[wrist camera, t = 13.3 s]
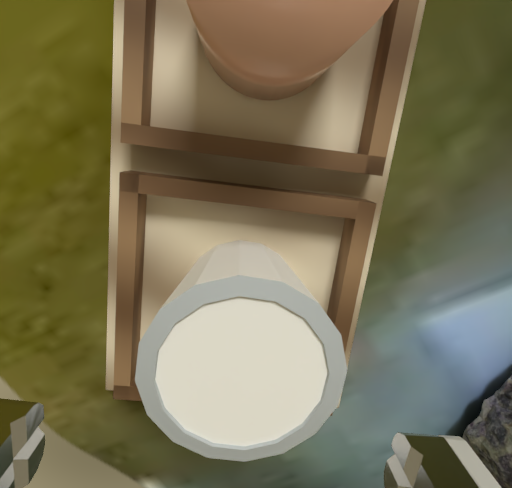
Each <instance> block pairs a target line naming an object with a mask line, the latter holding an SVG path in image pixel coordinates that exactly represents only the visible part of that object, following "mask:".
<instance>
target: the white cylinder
mask: <svg viewBox="0 0 512 488" xmlns="http://www.w3.org/2000/svg"><path fill="white" fill-rule="evenodd" d="M346 374H347V365H346V359H345V353H344V348H343V342H342V336H341V334H340V332H339V331H338V329H337V328H336V327H335V325H334V324H333V322H332V321H331V320H330V318H329V317H328V315H327V314H326V313H325V311H324V310H323V308H322V307H321V306H320V304H319V303H318V301H317V300H316V299H315V298H314V297H313V295H312V294H311V293H310V292H309V290H308V289H307V288H306V287H305V285H304V284H303V283H302V282H301V280H300V279H299V278H298V277H297V275H296V274H295V273H294V272H293V270H292V269H291V268H290V267H289V265H288V264H287V263H286V262H285V261H284V259H283V258H282V257H281V256H280V255H279V254H278V253H276V252H275V251H273V250H271V249H270V248H268V247H266V246H265V245H263V244H261V243H255V242H249V241H243V240H237V241H233V242H228V243H224V244H219V245H217V246H215V247H214V248H212V249H211V250H210V251H208V252H207V253H205V254H204V255H202V256H201V257H200V258H199V259H198V260H197V262H196V263H195V264H194V266H193V267H192V268H191V269H190V271H189V272H188V273H187V275H186V276H185V277H184V279H183V280H182V281H181V282H180V284H179V285H178V286H177V288H176V289H175V290H174V291H173V293H172V294H171V295H170V297H169V298H168V299H167V301H166V302H165V303H164V304H163V306H162V307H161V308H160V310H159V311H158V313H157V315H156V316H155V318H154V319H153V321H152V323H151V324H150V326H149V328H148V329H147V331H146V332H145V334H144V336H143V337H142V339H141V340H140V342H139V346H138V355H137V364H136V374H135V383H136V385H137V388H138V391H139V394H140V396H141V399H142V402H143V405H144V408H145V410H146V413H147V415H148V416H149V417H150V418H151V419H152V420H153V422H154V423H155V424H156V425H157V426H158V427H159V428H160V429H161V430H162V431H163V432H164V433H165V434H166V435H167V436H168V437H169V438H170V439H171V440H172V441H173V442H175V443H177V444H179V445H181V446H183V447H185V448H187V449H190V450H192V451H194V452H196V453H198V454H200V455H202V456H204V457H207V458H215V459H224V460H234V461H243V462H246V461H251V460H256V459H260V458H265V457H269V456H274V455H278V454H283V453H285V452H286V451H288V450H290V449H291V448H293V447H295V446H296V445H298V444H300V443H301V442H303V441H305V440H306V439H308V438H310V437H311V436H313V435H314V434H316V433H317V431H318V430H319V429H320V427H321V426H322V425H323V424H324V422H325V421H326V420H327V419H328V417H329V416H330V415H331V414H332V412H333V411H334V410H335V408H336V407H337V406H338V404H339V400H340V396H341V393H342V389H343V385H344V382H345V378H346Z"/></svg>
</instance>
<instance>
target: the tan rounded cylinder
mask: <svg viewBox="0 0 512 488" xmlns="http://www.w3.org/2000/svg"><path fill="white" fill-rule="evenodd" d="M186 1H187V4H188V7H189V10H190V13H191V15H192V18H193V21H194V24H195V26H196V29H197V32H198V35H199V38H200V40H201V43H202V46H203V49H204V52H205V54H206V56H207V59H208V61H209V63H210V64H211V66H212V68H213V69H214V71H215V72H216V73H217V74H218V76H219V77H220V78H221V79H222V80H223V81H224V82H225V83H226V84H227V85H228V86H230V87H231V88H233V89H234V90H235V91H237V92H239V93H241V94H243V95H245V96H248V97H251V98H254V99H259V100H269V101H270V100H280V99H285V98H288V97H291V96H294V95H296V94H298V93H300V92H302V91H304V90H305V89H306V88H308V87H309V86H311V85H312V84H313V83H314V82H315V81H316V80H317V79H318V78H319V77H320V76H321V75H322V74H323V73H324V72H325V71H326V70H327V69H328V68H329V67H331V66H332V65H333V64H334V63H335V62H336V61H337V60H338V59H339V58H340V57H341V56H342V55H343V54H344V53H345V52H346V51H347V50H348V49H349V48H350V47H351V46H352V45H353V44H354V43H355V42H357V41H358V40H359V39H360V38H361V37H362V36H363V35H364V34H365V33H366V32H367V31H368V30H369V29H370V28H371V27H372V26H373V25H374V24H375V23H376V22H377V21H378V20H379V19H380V17H381V16H382V15H383V14H384V13H385V11H386V10H387V9H388V8H389V6H390V4H391V3H392V1H393V0H186Z"/></svg>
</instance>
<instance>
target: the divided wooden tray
mask: <svg viewBox="0 0 512 488" xmlns="http://www.w3.org/2000/svg"><path fill="white" fill-rule="evenodd" d="M425 3H426V0H393V1H392V3H391V4H390V6H389V8H388V9H387V10H386V11H385V13H384V14H383V15H382V16H381V17H380V19H379V20H378V21H377V22H376V23H375V24H374V25H373V26H372V27H371V28H370V29H369V30H368V31H367V32H366V33H365V34H364V35H363V36H362V37H361V38H360V39H359V40H358V41H357V42H355V43H354V44H353V45H352V46H351V47H350V48H349V49H348V50H347V51H346V52H345V53H344V54H343V55H342V56H341V57H340V58H339V59H338V60H337V61H336V62H335V63H334V64H333V65H332V66H331V67H329V68H328V69H327V70H326V71H325V72H324V73H323V74H322V75H321V76H320V77H319V78H318V79H317V80H316V81H315V82H314V83H313V84H312V85H311V86H309V87H308V88H306V89H305V90H304V91H302V92H300V93H298V94H296V95H294V96H291V97H288V98H285V99H280V100H270V101H269V100H259V99H254V98H251V97H248V96H245V95H243V94H241V93H239V92H237V91H235V90H234V89H233V88H231V87H230V86H228V85H227V84H226V83H225V82H224V81H223V80H222V79H221V78H220V77H219V76H218V74H217V73H216V72H215V71H214V69H213V68H212V66H211V64H210V63H209V61H208V59H207V56H206V54H205V52H204V49H203V46H202V43H201V40H200V38H199V35H198V32H197V29H196V26H195V24H194V21H193V18H192V15H191V13H190V10H189V7H188V4H187V1H186V0H114V33H113V79H112V125H111V171H110V217H109V262H108V308H107V354H106V390H113V399H121V400H134V401H142V399H141V396H140V394H139V391H138V388H137V385H136V383H135V374H136V364H137V355H138V346H139V342H140V340H141V339H142V337H143V336H144V334H145V332H146V331H147V329H148V328H149V326H150V324H151V323H152V321H153V319H154V318H155V316H156V315H157V313H158V311H159V310H160V308H161V307H162V306H163V304H164V303H165V302H166V301H167V299H168V298H169V297H170V295H171V294H172V293H173V291H174V290H175V289H176V288H177V286H178V285H179V284H180V282H181V281H182V280H183V279H184V277H185V276H186V275H187V273H188V272H189V271H190V269H191V268H192V267H193V266H194V264H195V263H196V262H197V260H198V259H199V258H200V257H201V256H202V255H204V254H205V253H207V252H208V251H210V250H211V249H212V248H214V247H215V246H217V245H219V244H224V243H228V242H233V241H237V240H243V241H249V242H255V243H261V244H263V245H265V246H266V247H268V248H270V249H271V250H273V251H275V252H276V253H278V254H279V255H280V256H281V257H282V258H283V259H284V261H285V262H286V263H287V264H288V265H289V267H290V268H291V269H292V270H293V272H294V273H295V274H296V275H297V277H298V278H299V279H300V280H301V282H302V283H303V284H304V285H305V287H306V288H307V289H308V290H309V292H310V293H311V294H312V295H313V297H314V298H315V299H316V300H317V301H318V303H319V304H320V306H321V307H322V308H323V310H324V311H325V313H326V314H327V315H328V317H329V318H330V320H331V321H332V322H333V324H334V325H335V327H336V328H337V329H338V331H339V332H340V334H341V336H342V342H343V348H344V353H345V359H346V365H347V367H348V362H349V357H350V353H351V348H352V343H353V339H354V334H355V329H356V325H357V320H358V315H359V311H360V306H361V301H362V297H363V292H364V287H365V283H366V278H367V273H368V269H369V264H370V259H371V255H372V250H373V245H374V241H375V236H376V232H377V227H378V222H379V218H380V213H381V208H382V204H383V199H384V194H385V190H386V185H387V180H388V176H389V171H390V166H391V162H392V157H393V152H394V148H395V143H396V138H397V134H398V129H399V124H400V120H401V115H402V110H403V106H404V101H405V96H406V92H407V87H408V83H409V78H410V73H411V69H412V64H413V59H414V55H415V50H416V45H417V41H418V36H419V31H420V27H421V22H422V17H423V13H424V8H425ZM342 390H343V389H342ZM341 395H342V393H341ZM340 399H341V396H340ZM339 404H340V400H339ZM339 404H338V406H337V407H336V408H339ZM332 413H333V412H332ZM330 416H332V414H331V415H330Z"/></svg>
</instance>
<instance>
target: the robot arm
mask: <svg viewBox="0 0 512 488" xmlns="http://www.w3.org/2000/svg"><path fill="white" fill-rule="evenodd" d="M43 419H44V409H43V405H42V404H40V403H36V402H27V401H18V400H8V399H0V488H23V487H24V486H26V485H28V484H29V483H30V481H31V479H32V477H33V476H34V474H35V473H36V471H37V469H38V466H39V464H40V461H41V458H42V456H43V450H44V445H45V435H44V433H43V432H42V431H41V430H40V428H39V427H38V426H39V424H40V423H41V422H42V420H43ZM391 446H392V448H393V450H394V452H395V454H394V455H393V456H392V457H390V458H389V459H388V460H387V462H386V466H385V470H384V486H385V488H501V486H500V485H499V484H498V482H497V481H496V480H495V478H494V477H493V476H492V474H491V473H490V472H489V471H488V469H487V468H486V467H485V465H484V464H483V463H482V461H481V460H480V459H479V457H478V456H477V455H476V454H475V452H474V451H473V450H472V448H471V447H470V446H469V444H468V443H467V442H466V441H465V440H464V439H462V438H461V437H460V436H446V435H438V436H437V435H427V434H414V433H400V432H398V433H397V434H396V435H395V436H394V438H393V441H392V445H391Z"/></svg>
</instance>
